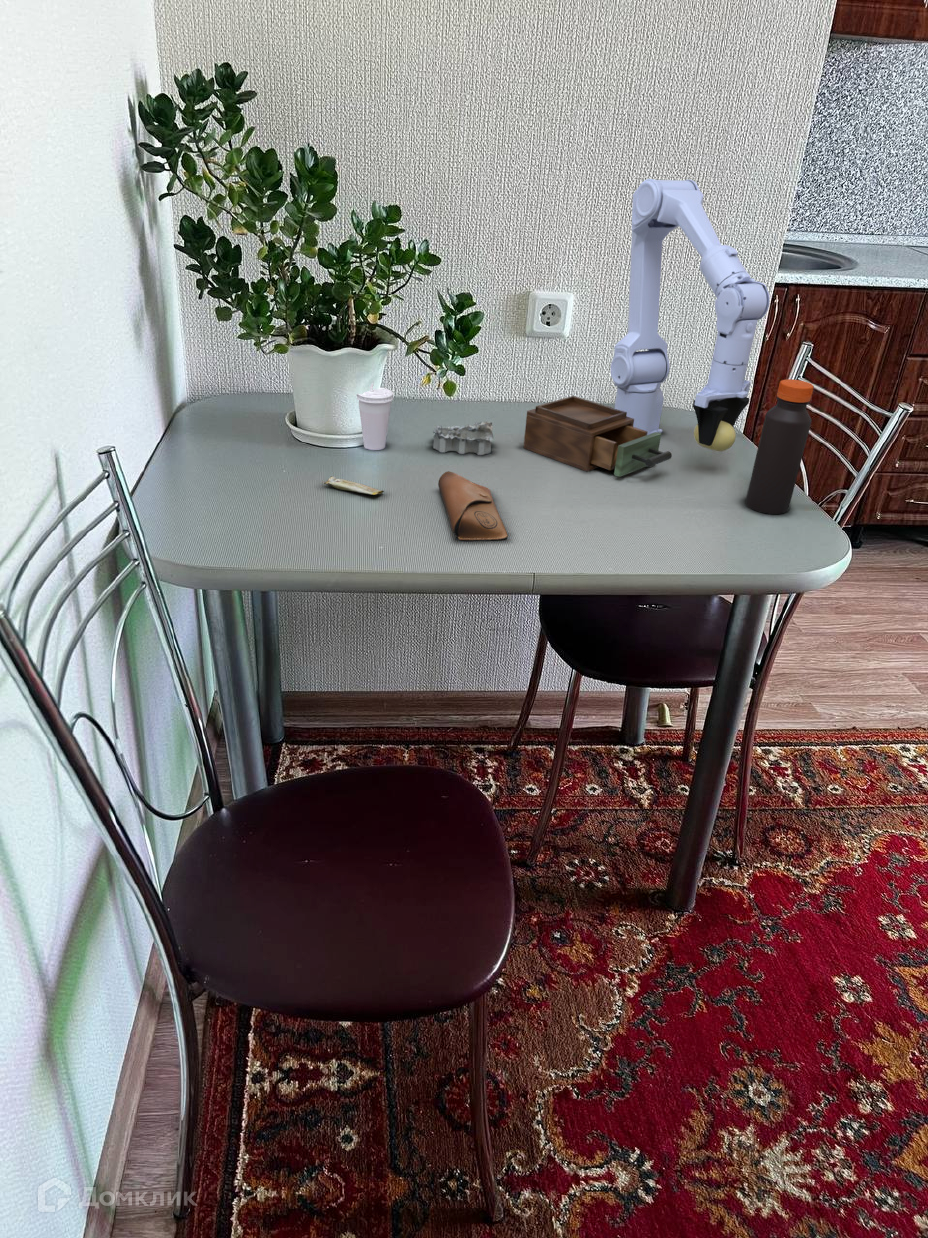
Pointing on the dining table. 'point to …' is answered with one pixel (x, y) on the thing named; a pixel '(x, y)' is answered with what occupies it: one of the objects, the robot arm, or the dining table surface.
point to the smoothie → (375, 416)
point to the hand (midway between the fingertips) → (713, 440)
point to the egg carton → (464, 438)
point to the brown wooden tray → (545, 410)
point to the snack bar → (351, 486)
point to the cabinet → (567, 434)
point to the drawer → (627, 450)
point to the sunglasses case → (470, 509)
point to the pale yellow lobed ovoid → (720, 437)
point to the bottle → (780, 449)
